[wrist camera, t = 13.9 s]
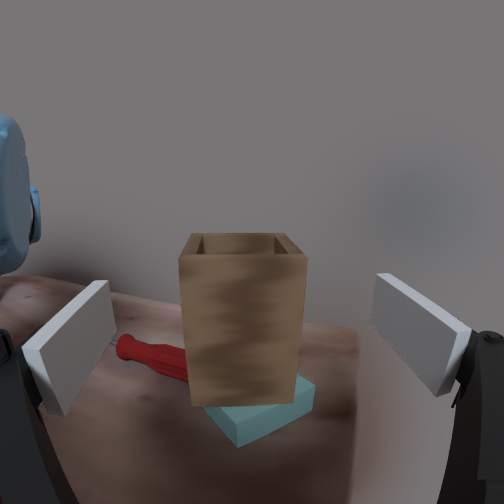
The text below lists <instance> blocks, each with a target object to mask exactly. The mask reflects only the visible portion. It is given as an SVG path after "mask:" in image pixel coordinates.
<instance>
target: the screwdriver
mask: <svg viewBox="0 0 504 504" xmlns="http://www.w3.org/2000/svg"><path fill="white" fill-rule="evenodd" d="M110 344H113V345H116V353H117V355H118V357H119V358H120V359H123V360H129V359H132V360H135V361H138V362H141V363H144V364H146V365H147V366H149V367H150V368H152V369H153V370H155V371H156V372H158V373H161V374H164V375H167V376H170V377H173V378H177V379H180V380H183V381H186V382H189V380H188V372H187V363H186V354H185V349H181V348H177V347H173V346H170V345H166V344H147V343H144V342H141V341H138V340H135V338H134V337H133V336H132V335H130V334H124V335H122V336H121V337H120V338H119V340H118V342H116V341H113V340H111V342H110Z"/></svg>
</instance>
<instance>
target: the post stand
mask: <svg viewBox="0 0 504 504" xmlns="http://www.w3.org/2000/svg"><path fill="white" fill-rule="evenodd" d="M314 393H315V385H314V384H312V383H311V382H309V381H307V380H306V379H304V378H303V377H301V376H300V375H298V374H297V379H296V387H295V395H294V402H293V403H288V404H275V405H259V406H232V407H202V408H203V409H204V411H205V412H206V413H207V414H208V415H209V417H210V418H211V419H212V420H213V421H214V422H215V424H216V425H217V426H218V427H219V428H220V429H221V430H222V432H223V433H224V434H225V435H226V436H227V437H228V438H229V439H230V441H231V442H232V443H233V444H234V445H235V446H236V447H237V448H240V447H242V446H244V445H246V444H248V443H251V442H253V441H255V440H257V439H259V438H261V437H263V436H265V435H267V434H269V433H271V432H273V431H275V430H277V429H279V428H281V427H283V426H285V425H286V424H288V423H290V422H292V421H294V420H296V419H297V418H299V417H301V416H303V415H305V414H306V413H308V412H310V411H312V408H313V401H314Z"/></svg>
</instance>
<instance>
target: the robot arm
mask: <svg viewBox="0 0 504 504" xmlns="http://www.w3.org/2000/svg"><path fill="white" fill-rule="evenodd" d="M40 237H41V215H40V203H39V196H38V190H37V188H36V187H35V186H30V183H29V170H28V161H27V157H26V155H25V141H24V137H23V134H22V131H21V129H20V127H19V125H18V123H17V122H16V121H15V120H14V119H13V118H12V117H10V116H8V115H4V114H0V276H1V275H3V274H6V273H10V272H13V271H15V270H17V269H18V268H19V267H20V266H21V265H22V264H23V262H24V261H25V259H26V256H27V253H28V249H29V245H31V244H32V243H35V242H38V241H39V240H40ZM369 324H370V325H371V326H372V327H373V328H374V329H375V330H376V331H377V332H378V333H379V334H380V335H381V337H382V338H383V339H384V340H385V341H386V342H387V343H388V344H389V345H390V346H391V347H392V349H393V350H394V351H395V352H396V353H397V354H398V355H399V356H400V357H401V358H402V360H403V361H404V362H405V363H406V364H407V365H408V366H409V367H410V369H411V370H412V371H413V372H414V373H415V374H416V375H417V376H418V378H419V379H420V380H421V381H422V382H423V383H424V384H425V385H426V387H427V388H428V389H429V390H430V391H431V392H432V393H433V395H434V396H435V397H438V396H441V395H444V394H447V393H450V392H451V389H452V387H453V384H454V382H455V379H456V380H457V381H458V382H459V383H460V384H461V385H460V387H459V390H458V392H457V394H456V397H455V399H454V402H453V404H452V406H451V408H454V405H455V404H456V412H455V419H454V427H453V433H452V440H451V445H450V450H449V456H448V461H447V465H446V470H445V474H444V478H443V482H442V486H441V490H440V494H439V498H438V501H437V504H504V337H503V336H502V335H500V334H498V333H496V332H492V331H482V332H480V333H477V332H476V331H474V330H473V329H471V328H470V327H468V326H467V325H466V324H464V323H462V322H461V321H460V320H458V319H456V318H455V317H454V316H453V315H451V314H450V313H448V312H446V311H445V310H443V309H442V308H441V307H439V306H438V305H436V304H435V303H433V302H432V301H430V300H429V299H427V298H426V297H424V296H423V295H421V294H420V293H418V292H417V291H415V290H414V289H412V288H411V287H409V286H407V285H406V284H405V283H403V282H401V281H400V280H398V279H397V278H395V277H393V276H392V275H391V274H389V273H384V274H376V278H375V286H374V294H373V301H372V308H371V315H370V321H369ZM116 332H117V329H116V324H115V318H114V313H113V307H112V301H111V295H110V288H109V281H108V280H102V281H101V280H95V281H93V282H92V283H91V284H90V285H89V286H88V287H86V288H85V289H84V290H83V291H82V292H81V293H79V294H78V295H77V296H76V297H75V298H74V299H73V300H72V301H70V302H69V303H68V304H67V305H66V306H65V307H64V308H63V309H61V310H60V311H59V312H58V313H57V314H56V315H55V316H54V317H53V318H52V319H51V320H49V321H48V322H47V323H46V324H44V325H42V326H40V327H38V328H37V329H36V330H35V331H34V332H33V333H32V334H31V335H30V336H29V337H28V338H27V339H26V340H25V341H24V342H22V343H21V344H20V345H19V346H18V347H17V348H16V349H15V350H14V347H13V344H12V341H11V338H10V335H9V333H8V331H7V330H4V329H0V496H1V500H2V504H79V502H78V500H77V498H76V497H75V495H74V493H73V491H72V489H71V487H70V485H69V483H68V480H67V478H66V476H65V474H64V472H63V470H62V467H61V465H60V463H59V461H58V458H57V456H56V453H55V451H54V448H53V446H52V443H51V441H50V438H49V435H48V433H47V430H46V427H45V424H44V421H43V418H42V415H41V413H40V411H39V409H38V406H39V405H40V403H41V402H42V401H43V403H44V405H45V408H46V410H47V412H48V413H49V414H54V415H58V416H62V417H66V415H67V413H68V411H69V409H70V408H71V406H72V404H73V402H74V401H75V399H76V397H77V396H78V394H79V392H80V390H81V389H82V387H83V385H84V384H85V382H86V380H87V379H88V377H89V375H90V374H91V372H92V370H93V369H94V367H95V365H96V364H97V362H98V361H99V359H100V357H101V356H102V354H103V353H104V351H105V349H106V348H107V346H108V345H109V343H110V342H111V340H112V338H113V337H114V335H115V334H116Z"/></svg>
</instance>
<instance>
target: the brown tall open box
mask: <svg viewBox="0 0 504 504" xmlns="http://www.w3.org/2000/svg"><path fill="white" fill-rule="evenodd" d="M178 261H179V281H180V296H181V310H182V322H183V333H184V344H185V354H186V363H187V372H188V380H189V388H190V396H191V404H192V406H196V407H232V406H259V405H275V404H288V403H293V402H294V395H295V387H296V379H297V370H298V362H299V353H300V343H301V333H302V323H303V312H304V301H305V288H306V275H307V261H308V258H307V257H306V256H305V255H304V253H302V251H301V250H300V249H299V248H298V247H297V246H296V245H295V244H294V243H293V242H292V241H291V240H290V239H289V238H288V237H287V236H286V235H285V234H284V233H192V234H191V236H190V238H189V239H188V241H187V243H186V245H185V247H184V249H183V251H182V253H181V255H180V257H179V258H178Z"/></svg>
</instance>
